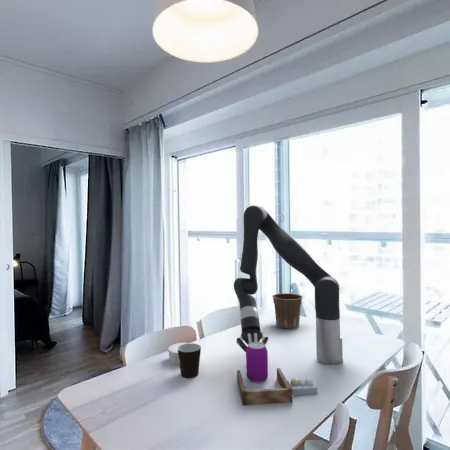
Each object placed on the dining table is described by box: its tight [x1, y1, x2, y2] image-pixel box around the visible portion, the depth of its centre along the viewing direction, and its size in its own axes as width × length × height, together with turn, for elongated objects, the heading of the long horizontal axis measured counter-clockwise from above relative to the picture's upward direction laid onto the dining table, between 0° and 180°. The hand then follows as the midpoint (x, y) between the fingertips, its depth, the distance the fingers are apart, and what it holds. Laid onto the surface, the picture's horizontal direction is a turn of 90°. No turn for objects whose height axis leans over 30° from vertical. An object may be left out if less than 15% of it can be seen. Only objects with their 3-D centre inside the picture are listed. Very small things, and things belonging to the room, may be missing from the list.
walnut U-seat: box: [236, 367, 293, 406], centre depth 107 cm, size 15×15×4 cm
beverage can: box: [245, 341, 269, 384], centre depth 116 cm, size 8×8×12 cm
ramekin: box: [167, 342, 188, 366], centre depth 133 cm, size 11×11×5 cm
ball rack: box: [286, 377, 318, 396], centre depth 107 cm, size 8×6×4 cm
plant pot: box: [271, 292, 303, 330], centre depth 176 cm, size 16×16×16 cm
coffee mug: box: [178, 342, 202, 380], centre depth 121 cm, size 12×9×10 cm
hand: (255, 362), depth 120 cm, fingers closed
